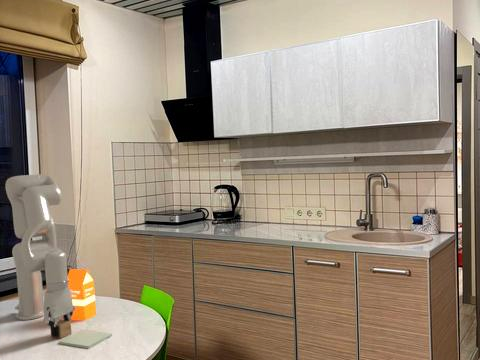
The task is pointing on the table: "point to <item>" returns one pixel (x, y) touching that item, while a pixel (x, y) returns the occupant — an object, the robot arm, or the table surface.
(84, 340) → the sage board
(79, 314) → the orange juice
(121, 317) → the table surface
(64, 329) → the walnut cube
